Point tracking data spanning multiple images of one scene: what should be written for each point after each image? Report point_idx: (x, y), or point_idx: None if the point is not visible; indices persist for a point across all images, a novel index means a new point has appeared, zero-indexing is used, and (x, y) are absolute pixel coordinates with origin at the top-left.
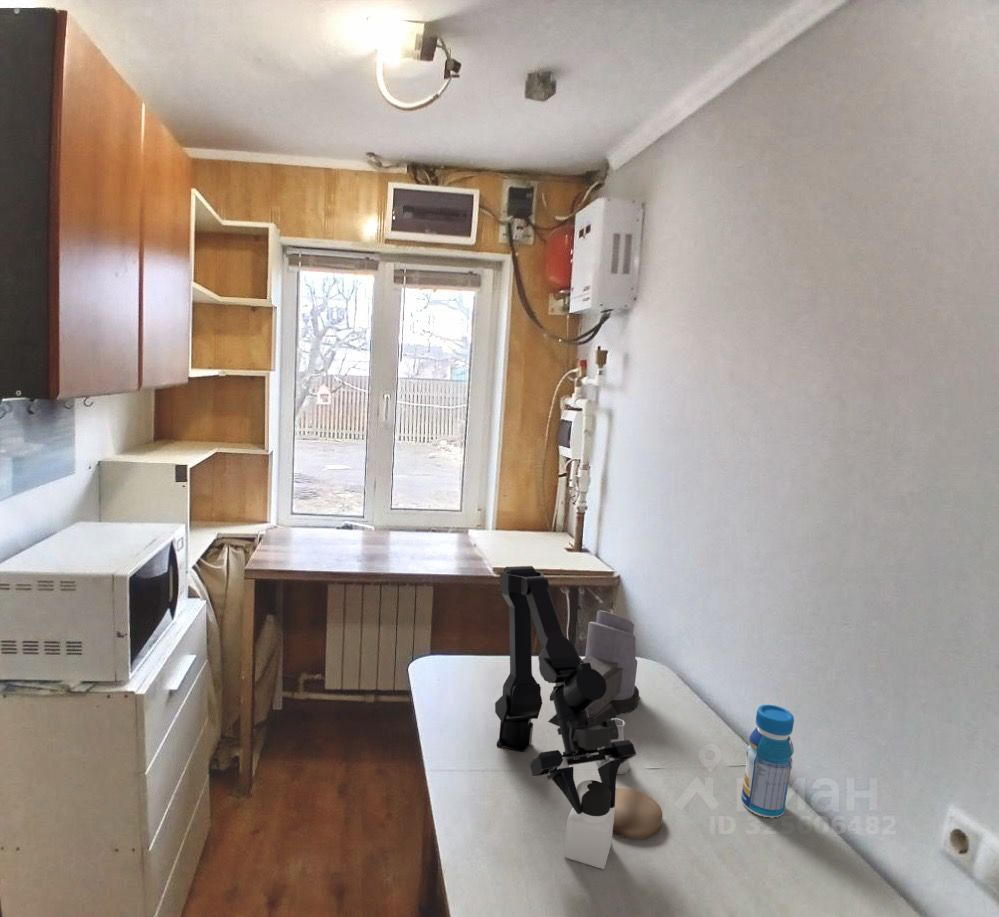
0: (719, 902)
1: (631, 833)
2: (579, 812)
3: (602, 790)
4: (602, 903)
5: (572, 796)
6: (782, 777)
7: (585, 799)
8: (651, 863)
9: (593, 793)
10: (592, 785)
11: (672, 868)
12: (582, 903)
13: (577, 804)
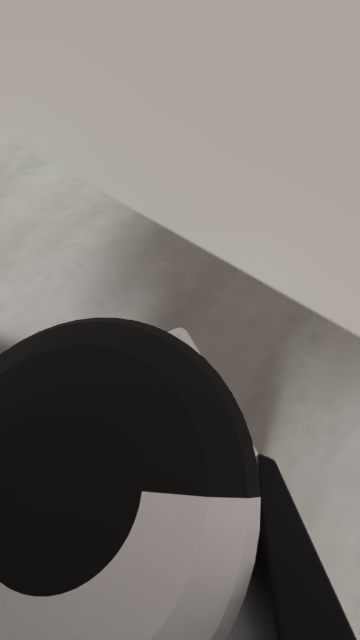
0: (78, 191)
1: None
2: (274, 462)
3: (43, 388)
4: (278, 306)
5: (330, 604)
6: None
7: (252, 443)
8: (71, 315)
9: (156, 415)
10: (34, 533)
11: (53, 279)
12: (325, 333)
13: (286, 504)
